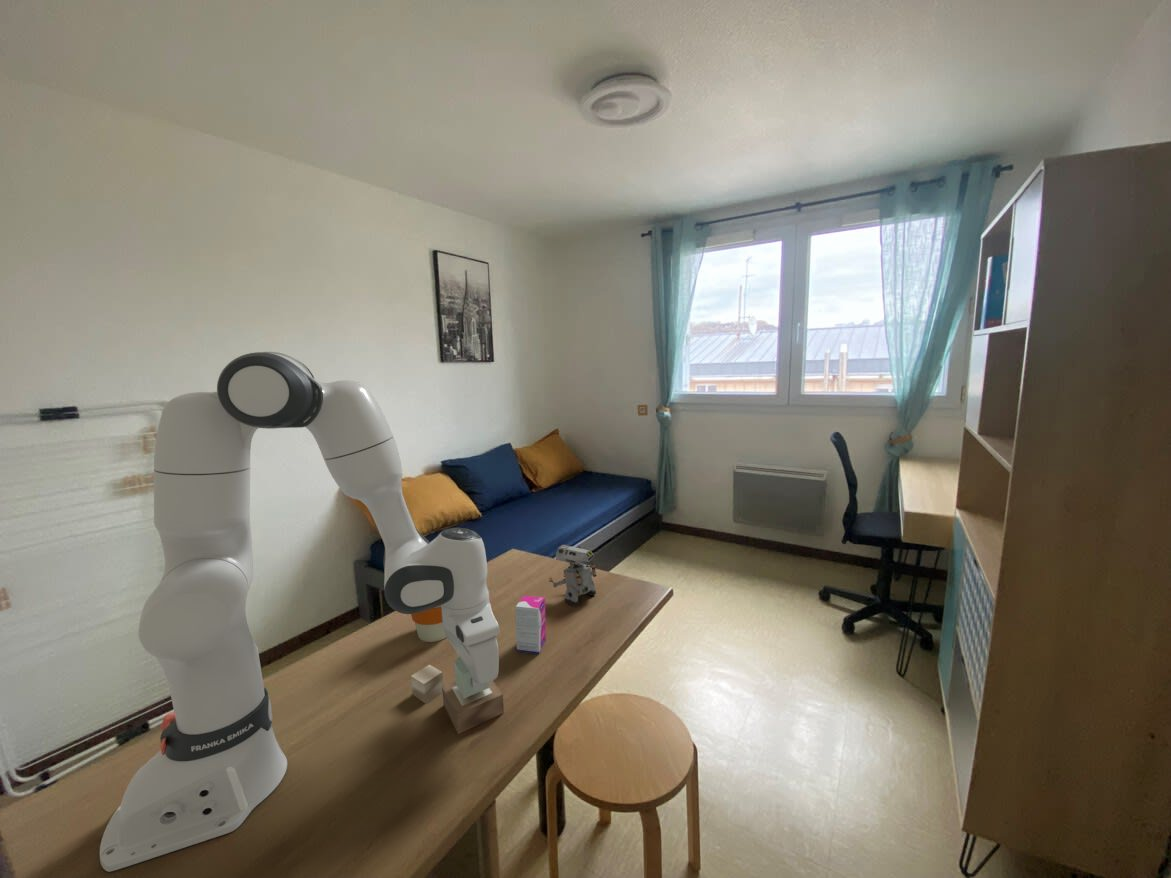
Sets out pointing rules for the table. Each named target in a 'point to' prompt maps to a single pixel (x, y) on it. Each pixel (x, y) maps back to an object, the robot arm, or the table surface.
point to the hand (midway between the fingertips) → (471, 678)
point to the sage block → (465, 679)
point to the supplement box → (530, 624)
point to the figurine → (576, 573)
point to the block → (427, 683)
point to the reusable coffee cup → (430, 624)
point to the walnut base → (472, 706)
